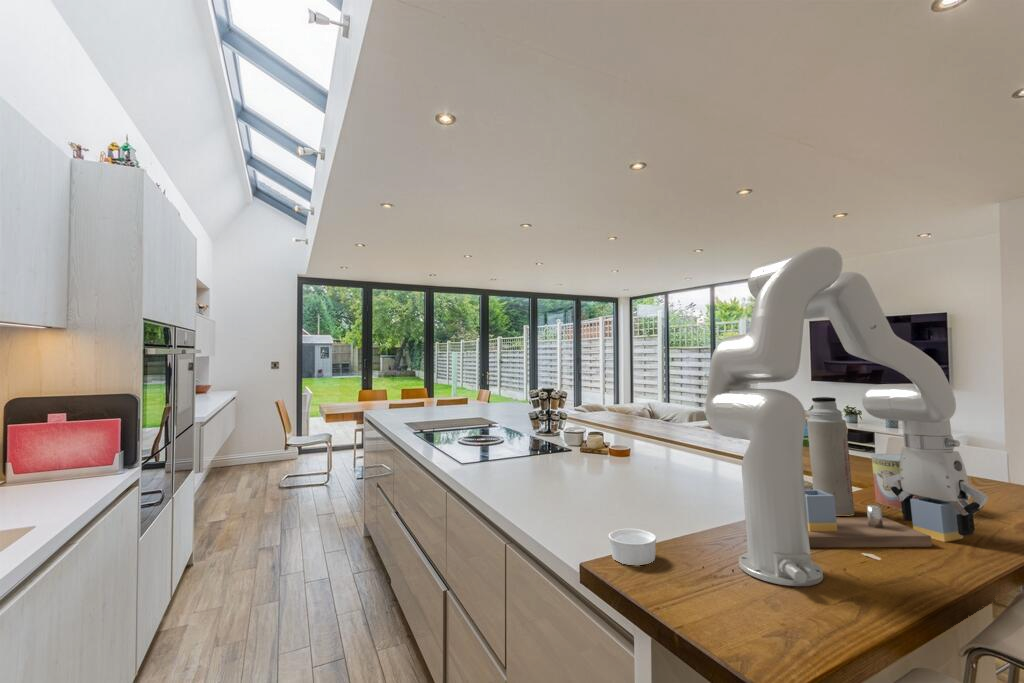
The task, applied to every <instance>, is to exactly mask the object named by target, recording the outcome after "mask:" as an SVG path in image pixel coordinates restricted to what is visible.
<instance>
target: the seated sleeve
mask: <svg viewBox="0 0 1024 683" xmlns="http://www.w3.org/2000/svg"><path fill="white" fill-rule="evenodd" d="M805 498H806V510H807V522H808V531H837V521H836V518H837V517H836V510H835V499H834V496H833V495H831V494H828V493H826V492H823V491H821V490H818V489H814V490H813V489H805Z"/></svg>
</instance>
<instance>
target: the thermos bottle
mask: <svg viewBox="0 0 1024 683" xmlns="http://www.w3.org/2000/svg"><path fill="white" fill-rule="evenodd" d="M811 401H812V402H813V403H812V409H811V410H809V414H808V416H809V419H807V420H806V422H807V423H806V424H807V435H808V436H807V437H808V446H809V448H808V449H809V458H810V470H811V476H812V477H811V478H812V480H811V481H812V490H814V489H818V490H821V491H823V492H826V493H828V494H831V495H833V496H834V499H835V510H836V514H837V515H851V514H854V513H855V504H854V494H853V493H854V492H853V484H852V483H853V481H852V472H851V464H850V463H851V462H850V461H851V460H850V452H849V441H848V430H847V428H848V427H847V421H846V420H845V419H843V413H842V410H840V409H838V406H837V400H836V398H835V397H829V396H828V397H827V396H826V397H825V396H822V397H821V396H819V397H812V398H811ZM854 515H855V514H854Z"/></svg>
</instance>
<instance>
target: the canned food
mask: <svg viewBox="0 0 1024 683" xmlns="http://www.w3.org/2000/svg"><path fill="white" fill-rule="evenodd" d="M870 457H871V464H872V473H873V474H872V475H873V483H874V485H873V487H874V494H875V502H876V501H877V502H878V503H880V504H883V505H886V506H890V507H895V508H899V509H902V506H901V501H899V500H898V498H897V496H896V495H895V493H894V492H893V491H892V490H891V487H890V485H889V484H888V482H887V480H886V478H887V477H890V476H893V475H896V474H899V473H900V457H901V453H899V454H898V453H897V454H896V453H876V454H872V455H871V456H870ZM898 484H899V486H900V487H901V481H898ZM901 488H902V487H901ZM915 498H922V497H919V496H915V497H914V498H913V499H915Z"/></svg>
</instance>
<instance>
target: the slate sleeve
mask: <svg viewBox="0 0 1024 683" xmlns="http://www.w3.org/2000/svg"><path fill="white" fill-rule="evenodd" d="M910 502H911V511H912V529H915V530H917V531H919V532H922V533H924V534H927V535H929V536H931V540H932V539H933V540H936V541H939V542H943V543H947V542H952V541H957V540H962V539H964V536H962V535H960V534H959V533H958V525H957V517H956V515H957V514H960V512H959V511H958V510H957V509H956V508H955V507H954V506H953V505H952V504H951V503H950V502H943V501H938V500H934V499H929V498H924V497H922V498H915V499H910Z"/></svg>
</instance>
